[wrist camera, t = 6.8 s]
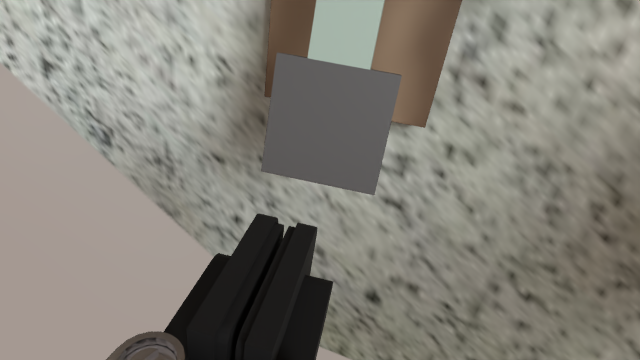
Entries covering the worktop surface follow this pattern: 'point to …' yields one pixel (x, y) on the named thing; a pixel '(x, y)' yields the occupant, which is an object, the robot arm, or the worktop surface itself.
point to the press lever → (332, 102)
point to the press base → (380, 46)
